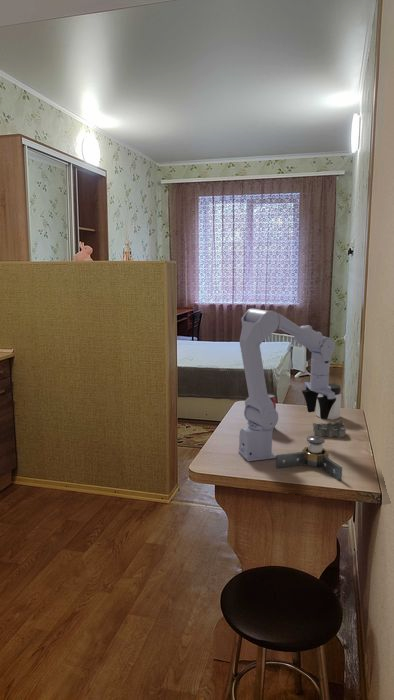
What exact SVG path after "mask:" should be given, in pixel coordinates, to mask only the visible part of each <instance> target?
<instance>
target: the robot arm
mask: <svg viewBox="0 0 394 700" xmlns="http://www.w3.org/2000/svg"><path fill="white" fill-rule="evenodd" d="M240 320H241V331H240V337H239V348H240V353H241V359H242V363H243V364H242V365H243V370H244V371H243V372H244V375H245V380H246V388H247V392H248V397H247V398H246V399H245V401H244V411H243V415H244V418H245V420H247V425H248V426H246V427H243V428H240V430H239V441H238V442H239V443H238V451H237V452H238V453H239V455H241V456H242V457H243V458H244V459H245V460H246V461H247V462H254V461H262V460H269V459H270V460H272V459H276V455H277V454H275V453H274V452H273V430H274V429H275V428H276V425H277V424H278V421H279V412H278V411H277V410H275V408H274V404H273V402H272V401H271V399H270V398H269V397H268V395H267V394H268V390H267V383H266V378H265V371H264V365H263V364H264V363H263V359H262V352H261V344H262V343H263V342H264V341H266V340H267V338H269V337H270V336H271V335H272V334H273V333H275V332H276V330H277V331H278V330H281V331H282V332H284V333H287V334H289V335H291V336H293V339H294V341H295V342H296V343H297V344H299V345H301V346H303V347H305V348H306V349H308V351H309V353H311V356H310V357H311V360H310V378H309V381H305V382H304V387H303V388H304V389H303V390H301V393H302V395H303V397H304V399H305V404H306V409H307V412H308V413H314V412H316V401H317V399H318V402H319V406H320V417H321V418H320V417H319V418H320V419H321V420H328V419H327V418H328V415H329V412H330V410H331V407H332V405H333V404H334V402H335V401H336V398H334V397H335V393H334V392H332V391H331V390H330V389H331V387H330V386H328V385H329V383H330V382H329V381H330V369H331V368H330V367H331V360H332V356H333V353H334V352H335V349H336V345H335V343H334V340H333V339H332V338H331V337H327V336H324V335H323V333H322V332H320V331H316V330H314V329H313V326H311V325H310V324H309V325H308V324H306V325H301V326H299V325H298V324H296V323H294V322H292V320H290V319H289V318H287V317H285V316H283V315H282V313H278V312H276V311H274V310H264V309H258V308H255V307H253V308H252V307H251V308H249V309H247V310H246V311H245V312H244V314H243V316H241V319H240ZM318 394H321V395H323V397H318ZM274 427H275V428H274Z"/></svg>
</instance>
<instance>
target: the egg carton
mask: <svg viewBox="0 0 394 700" xmlns="http://www.w3.org/2000/svg"><path fill="white" fill-rule="evenodd" d="M312 426H313V427H312V428H313V429H312V432H314V433H313V436H320V437H323V436H326V437H329V438H332V437H333V436H334V437H338V438H343V437H345V436H346V431H347V429H346V427H345V423H344V421H343V420H333V422H320V423H316V422H313V423H312Z"/></svg>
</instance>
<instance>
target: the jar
mask: <svg viewBox="0 0 394 700" xmlns="http://www.w3.org/2000/svg"><path fill="white" fill-rule="evenodd" d="M328 386H330V387H331V389H330V390H331V391H332V392H334V393H335V397H334V398H336V401H335V402H334V404H333V405H332V407H331V410H330V412H329V415H328V418H327V419H326V420H329V421H331V420H333V421H335V420H336V419H339V418H341V408H342V406H341V405H342V404H341V403H342V393H341V392H342V391H341V389H342V388H341V387H342V386H340V385H339V384H336V383H330V382H329V385H328ZM318 397H323V395H321V394H318ZM315 416H317V417H318V418H320V419H321V417H320V406H319V402H318V399H317V401H316V407H315Z"/></svg>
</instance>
